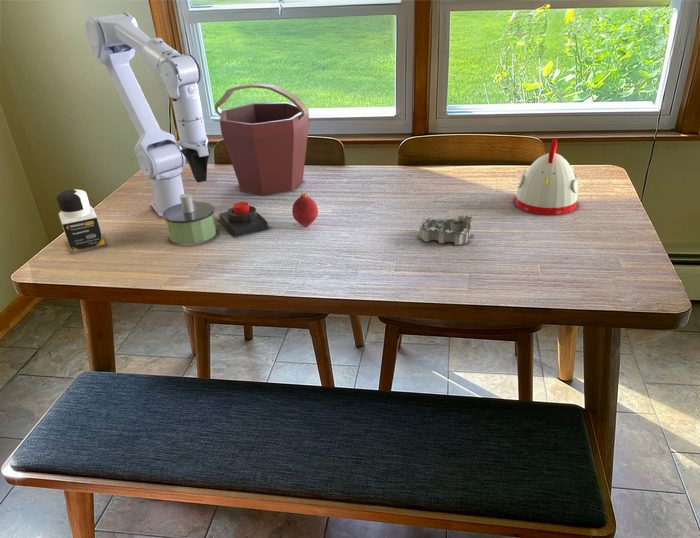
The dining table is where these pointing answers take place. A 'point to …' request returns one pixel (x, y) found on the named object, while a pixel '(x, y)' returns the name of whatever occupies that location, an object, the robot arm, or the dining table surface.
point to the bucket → (266, 141)
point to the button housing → (243, 221)
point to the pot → (192, 231)
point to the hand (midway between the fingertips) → (201, 180)
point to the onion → (304, 210)
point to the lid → (188, 211)
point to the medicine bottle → (79, 220)
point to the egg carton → (446, 229)
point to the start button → (241, 208)
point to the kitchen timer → (548, 185)
